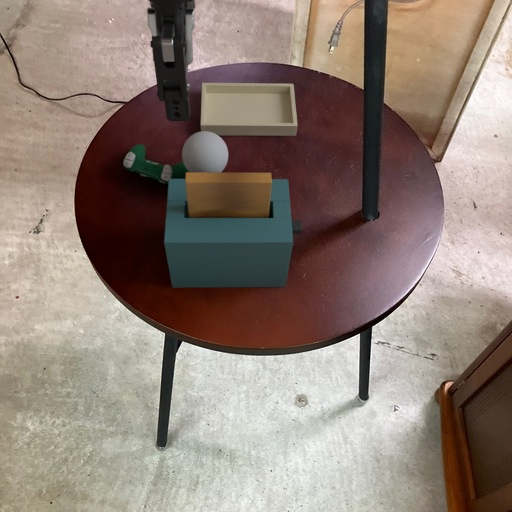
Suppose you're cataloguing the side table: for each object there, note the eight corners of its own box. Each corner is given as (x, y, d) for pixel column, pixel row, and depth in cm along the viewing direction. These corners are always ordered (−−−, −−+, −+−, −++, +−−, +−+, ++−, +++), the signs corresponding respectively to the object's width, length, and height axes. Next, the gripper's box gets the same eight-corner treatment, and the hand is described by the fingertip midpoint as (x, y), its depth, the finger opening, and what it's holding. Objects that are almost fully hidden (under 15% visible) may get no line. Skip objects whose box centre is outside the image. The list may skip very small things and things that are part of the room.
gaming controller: (133, 168, 80) (112, 169, 74) (139, 142, 79) (119, 141, 74) (190, 188, 79) (174, 190, 73) (197, 162, 78) (181, 163, 72)
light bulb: (236, 195, 76) (237, 144, 68) (198, 213, 74) (194, 162, 66) (215, 167, 79) (213, 115, 70) (178, 184, 77) (171, 131, 68)
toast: (190, 234, 65) (185, 182, 57) (191, 225, 66) (185, 172, 58) (266, 234, 65) (272, 182, 57) (266, 224, 66) (271, 172, 58)
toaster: (172, 287, 68) (164, 242, 59) (175, 228, 73) (168, 178, 64) (298, 287, 69) (307, 242, 60) (293, 228, 73) (301, 179, 65)
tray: (201, 135, 82) (200, 125, 80) (202, 93, 87) (202, 82, 85) (296, 136, 83) (297, 125, 81) (292, 94, 87) (293, 83, 86)
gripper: (121, -127, 45) (146, 43, 59) (102, -29, 38) (137, 140, 51) (212, -125, 46) (216, 43, 59) (213, -28, 38) (217, 140, 52)
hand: (179, 88), depth 55 cm, fingers open, 8 cm apart
